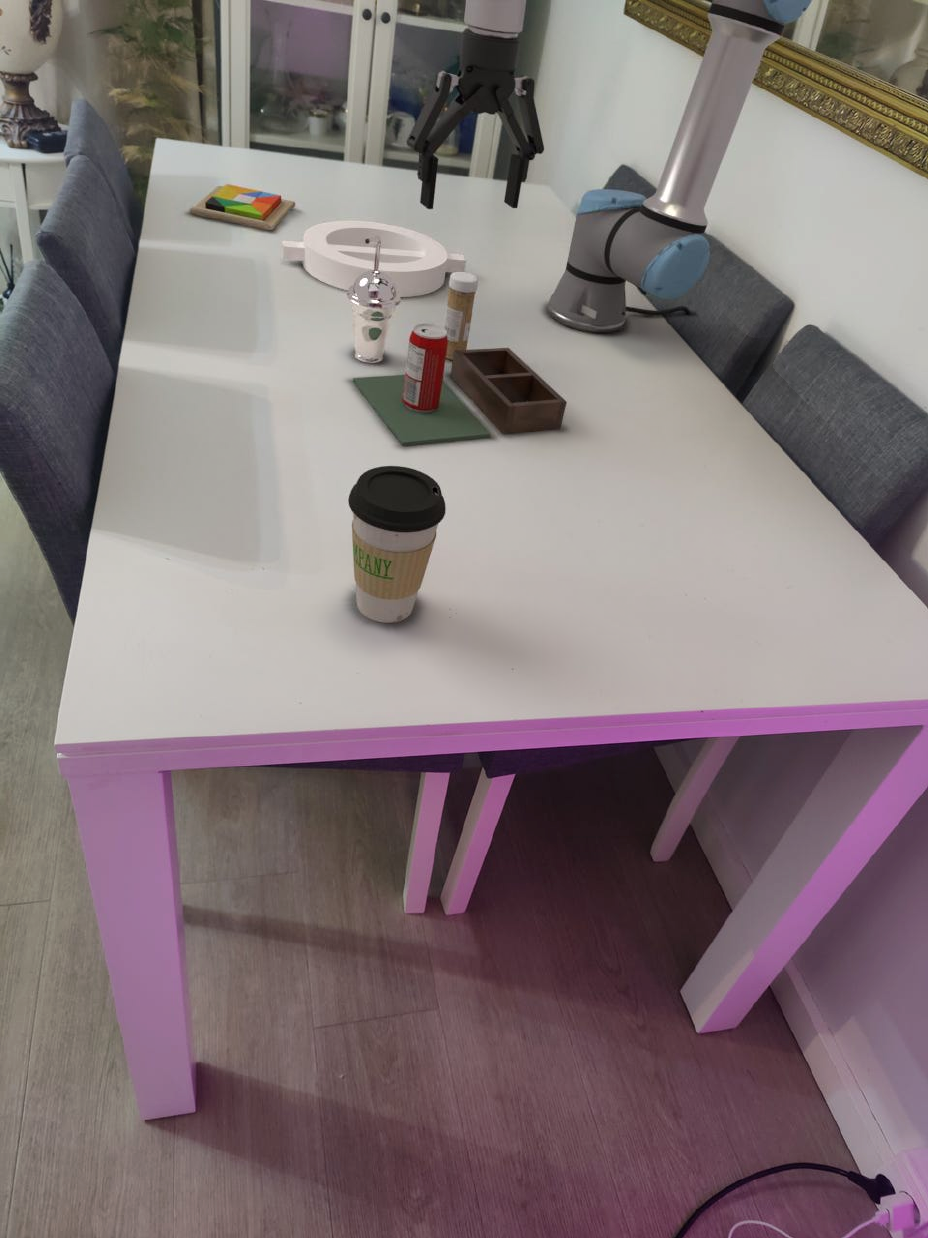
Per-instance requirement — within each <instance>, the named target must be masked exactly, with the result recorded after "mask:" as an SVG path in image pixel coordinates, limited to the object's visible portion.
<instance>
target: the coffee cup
mask: <svg viewBox="0 0 928 1238" xmlns="http://www.w3.org/2000/svg"><path fill="white" fill-rule="evenodd" d="M347 499H348V500H347V501H348V507H349V509H350V510H351V512H352V520H351V538H352V557H353V558H352V559H353V561H352V562H353V577H354V582H355V593H356V595H355V596H356V597H355V599H356V607H357V609H358V611H359V612H360V613H361V614H362V615H363V616H364V617H366V618H367V619H369V620H371V621H375V622H378V623H386V624H392V623H399V622H401V621H404V620H405V619H407V618H408V617H409V616H410V615H411V614H412V612H413V610H414V606H415V603H416V600H417V596H418V594H419V593H418V592H419V590H420V589H421V587H422V585H423V584H422V583H423V581H424V577H425V574H426V571H427V568H428V564H429V561H430V557H431V555H432V551H433V548H434V545H435V542H436V539H437V529H438V525H439V524H440V523H441V522H442V521H443V520H444V517H445V516H446V509H447V508H446V501H445V498H444V496H443V492H442V488H441V486H440V485H439V483H438V482H437V481H436V480H435V479H434V478H433V477H431V476H430V475H428V474H427V473H425V472H423V471H420V470H418V469H416V468H415V469H414V468H411V467H406V466H399V465H382V466H378V467H377V466H376V467H373V468H371V469H368V470H366V471H363V473H362V474H361V475H359V477H358V479H357V481H356V483H355V484H354V485H353V487H352V488H351V489H350V492H349V495H348V498H347Z"/></svg>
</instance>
